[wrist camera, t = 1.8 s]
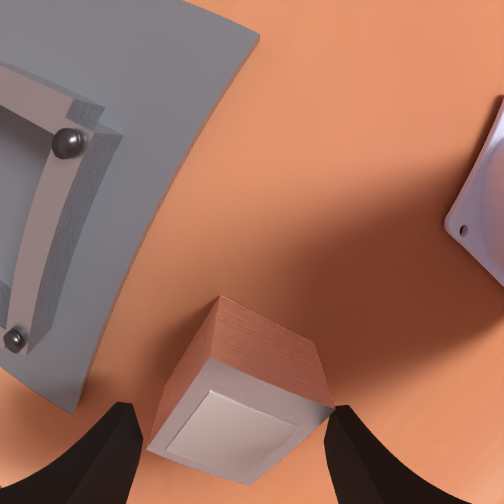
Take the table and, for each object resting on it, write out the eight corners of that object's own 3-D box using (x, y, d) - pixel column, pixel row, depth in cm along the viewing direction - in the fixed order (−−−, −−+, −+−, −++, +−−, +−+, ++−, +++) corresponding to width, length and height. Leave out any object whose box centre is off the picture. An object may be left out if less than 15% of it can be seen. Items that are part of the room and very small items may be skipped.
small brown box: (313, 340, 14) (335, 410, 10) (248, 417, 15) (249, 486, 11) (220, 293, 13) (209, 358, 9) (166, 381, 14) (145, 451, 10)
